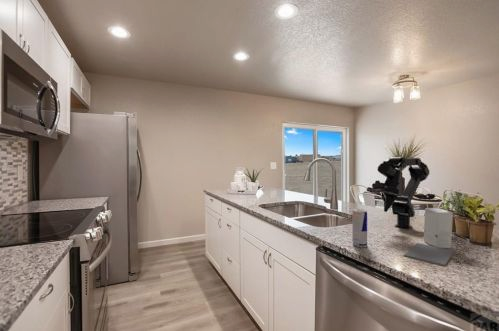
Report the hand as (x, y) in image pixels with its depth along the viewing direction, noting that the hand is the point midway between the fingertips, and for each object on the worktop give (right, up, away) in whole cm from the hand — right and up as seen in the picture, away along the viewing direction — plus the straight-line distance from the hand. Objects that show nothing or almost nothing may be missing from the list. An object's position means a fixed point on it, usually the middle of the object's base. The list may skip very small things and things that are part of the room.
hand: (386, 210), depth 119 cm
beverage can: (-21, -12, -18) cm, 30 cm away
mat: (+1, -11, -27) cm, 30 cm away
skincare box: (+11, -11, -18) cm, 24 cm away
